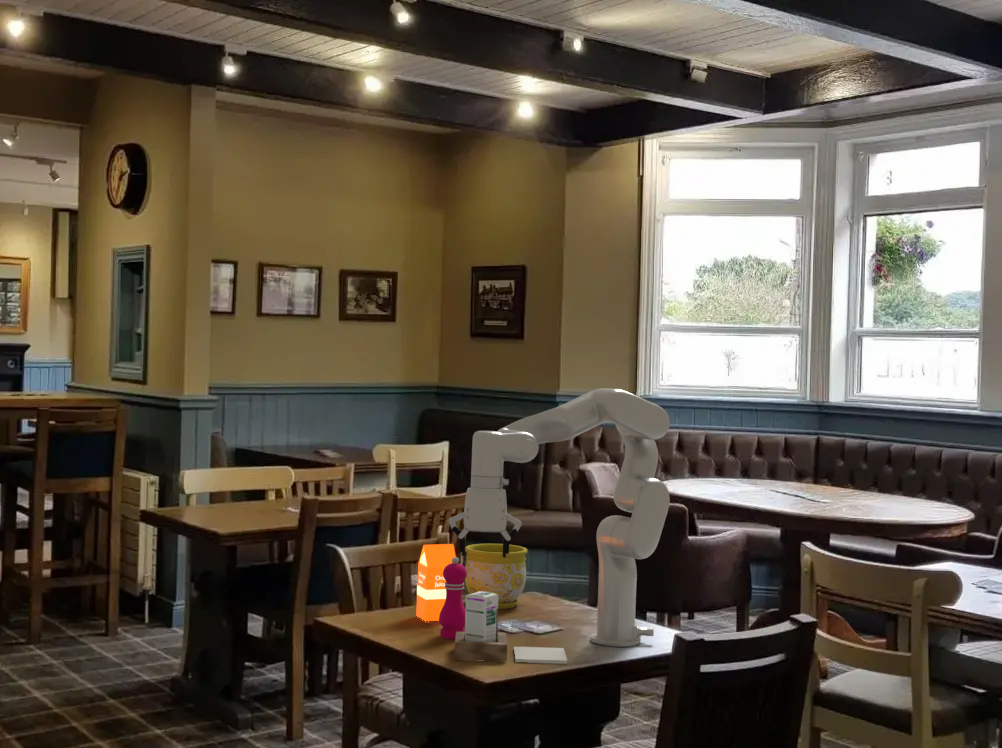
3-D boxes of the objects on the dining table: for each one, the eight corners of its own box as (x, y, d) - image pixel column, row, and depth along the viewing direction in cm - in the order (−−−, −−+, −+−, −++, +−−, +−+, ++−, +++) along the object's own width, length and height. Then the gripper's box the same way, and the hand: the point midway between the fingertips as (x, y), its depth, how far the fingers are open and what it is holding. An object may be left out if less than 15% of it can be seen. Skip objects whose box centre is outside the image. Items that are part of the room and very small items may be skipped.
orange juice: (415, 616, 305) (418, 542, 306) (446, 614, 309) (448, 541, 309) (425, 622, 298) (427, 546, 298) (456, 620, 302) (459, 546, 302)
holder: (505, 649, 271) (506, 633, 271) (506, 662, 259) (507, 644, 259) (455, 648, 271) (456, 631, 271) (454, 660, 259) (455, 643, 259)
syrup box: (484, 659, 261) (486, 596, 261) (463, 655, 264) (465, 593, 264) (497, 654, 266) (499, 593, 266) (476, 650, 269) (478, 590, 269)
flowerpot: (506, 614, 313) (508, 554, 313) (451, 605, 321) (453, 548, 321) (536, 603, 328) (538, 547, 328) (482, 596, 337) (484, 541, 337)
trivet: (563, 651, 271) (563, 648, 271) (567, 664, 259) (567, 660, 259) (513, 649, 271) (513, 646, 271) (515, 662, 259) (515, 658, 259)
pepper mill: (463, 641, 278) (466, 560, 278) (435, 638, 280) (437, 558, 280) (469, 634, 285) (472, 555, 286) (442, 632, 287) (445, 554, 287)
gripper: (522, 483, 269) (519, 555, 269) (450, 480, 269) (447, 552, 268) (523, 486, 261) (520, 559, 261) (449, 483, 261) (446, 557, 261)
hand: (483, 555), depth 265 cm, fingers open, 9 cm apart
